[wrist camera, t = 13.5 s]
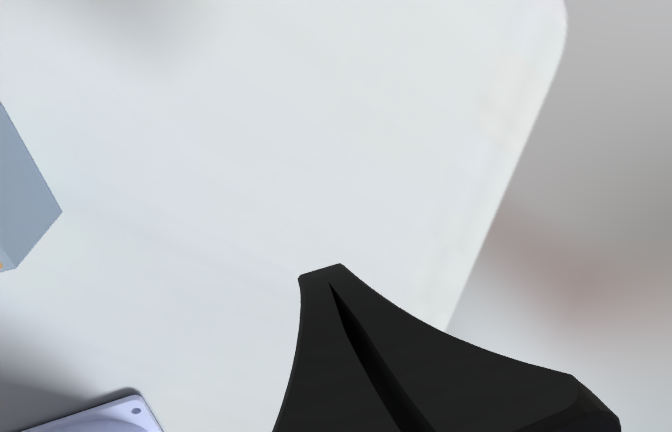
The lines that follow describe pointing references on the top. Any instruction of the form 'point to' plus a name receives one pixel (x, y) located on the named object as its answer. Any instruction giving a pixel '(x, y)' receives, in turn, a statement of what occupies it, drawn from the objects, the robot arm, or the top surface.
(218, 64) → the top surface
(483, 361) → the robot arm
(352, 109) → the top surface
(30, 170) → the module block
